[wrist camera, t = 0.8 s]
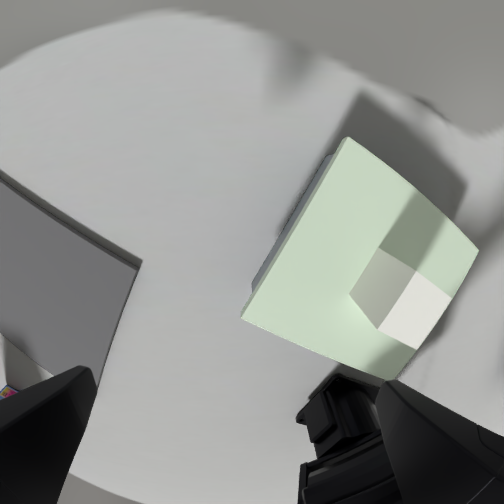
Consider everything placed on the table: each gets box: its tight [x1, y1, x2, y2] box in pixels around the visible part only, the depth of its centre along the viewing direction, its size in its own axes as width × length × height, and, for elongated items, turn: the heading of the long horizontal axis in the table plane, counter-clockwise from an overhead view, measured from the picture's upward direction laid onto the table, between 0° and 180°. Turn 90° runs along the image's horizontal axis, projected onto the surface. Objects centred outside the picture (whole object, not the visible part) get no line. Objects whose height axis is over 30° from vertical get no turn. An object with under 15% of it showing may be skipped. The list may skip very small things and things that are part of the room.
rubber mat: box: [0, 178, 139, 389], centre depth 19 cm, size 18×16×1 cm
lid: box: [241, 137, 479, 380], centre depth 14 cm, size 12×11×6 cm
